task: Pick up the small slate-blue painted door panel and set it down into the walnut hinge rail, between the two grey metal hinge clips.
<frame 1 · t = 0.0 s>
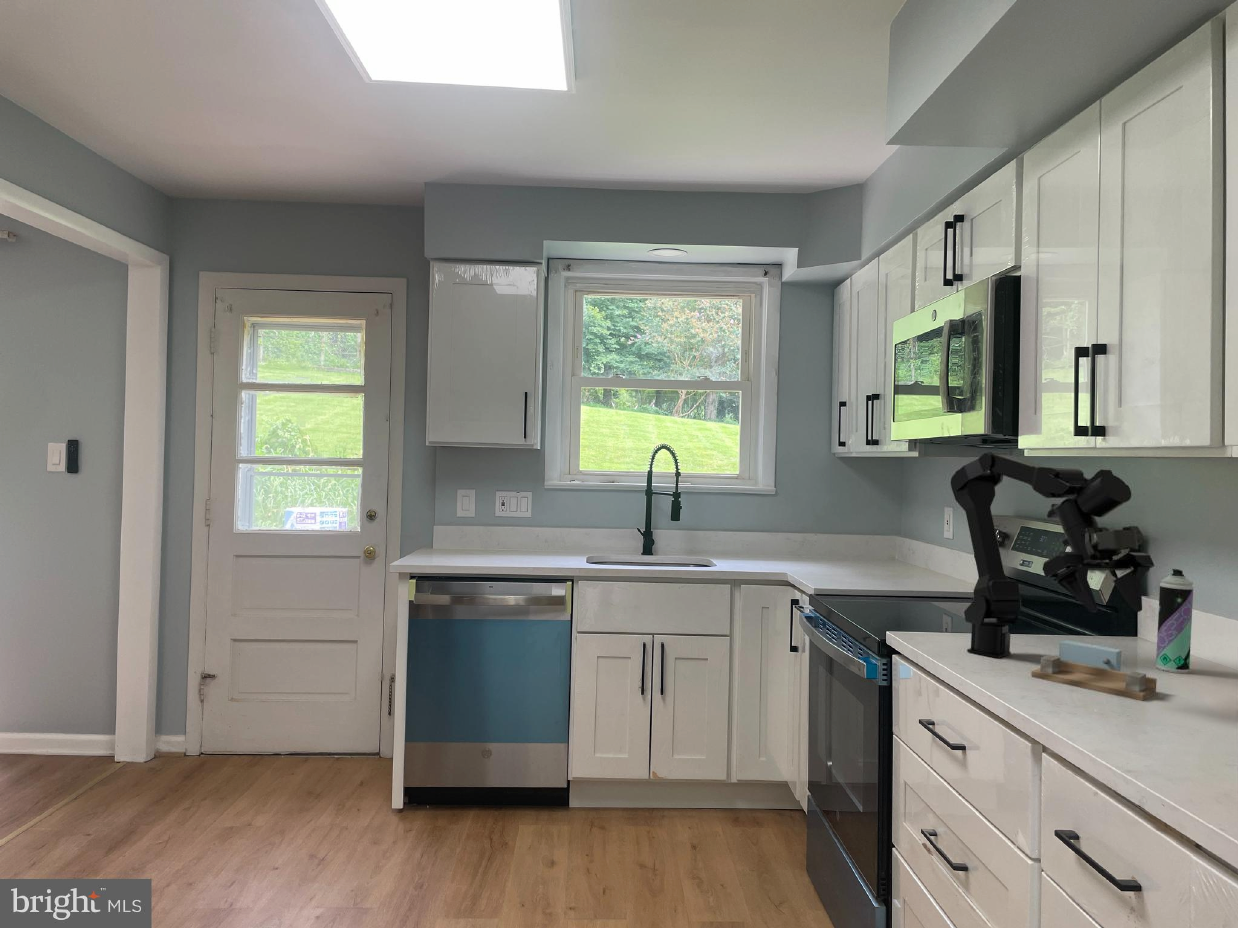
hand: (1117, 611, 139), 15 cm above the worktop, tool tilted 35°, fingers open, 9 cm apart
spray can: (1172, 670, 162), on the worktop
door panel: (1088, 671, 159), on the worktop
hinge rail: (1091, 684, 148), on the worktop
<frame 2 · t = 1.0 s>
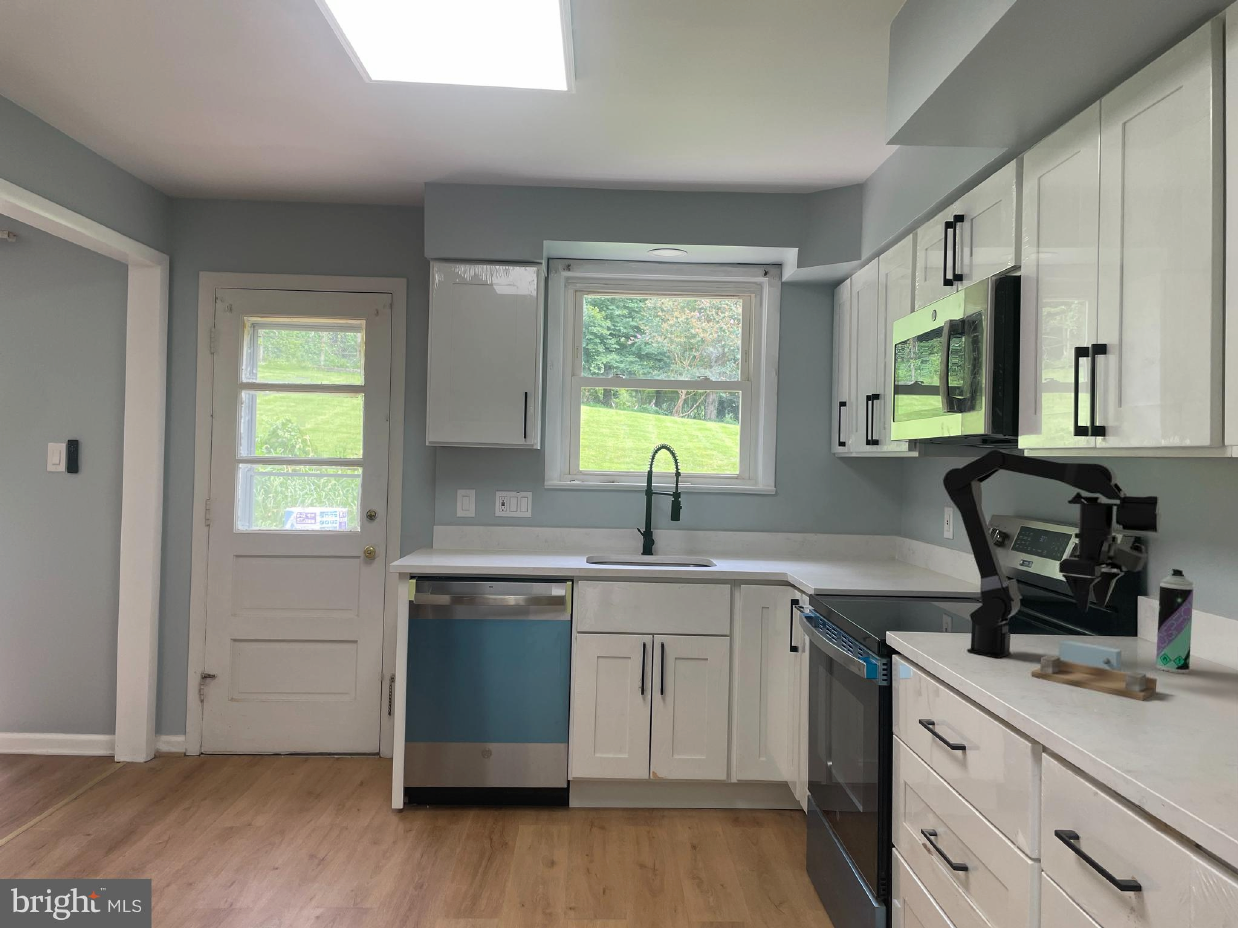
hand: (1092, 609, 158), 12 cm above the worktop, tool pointing down, fingers open, 9 cm apart
nothing on the worktop moved.
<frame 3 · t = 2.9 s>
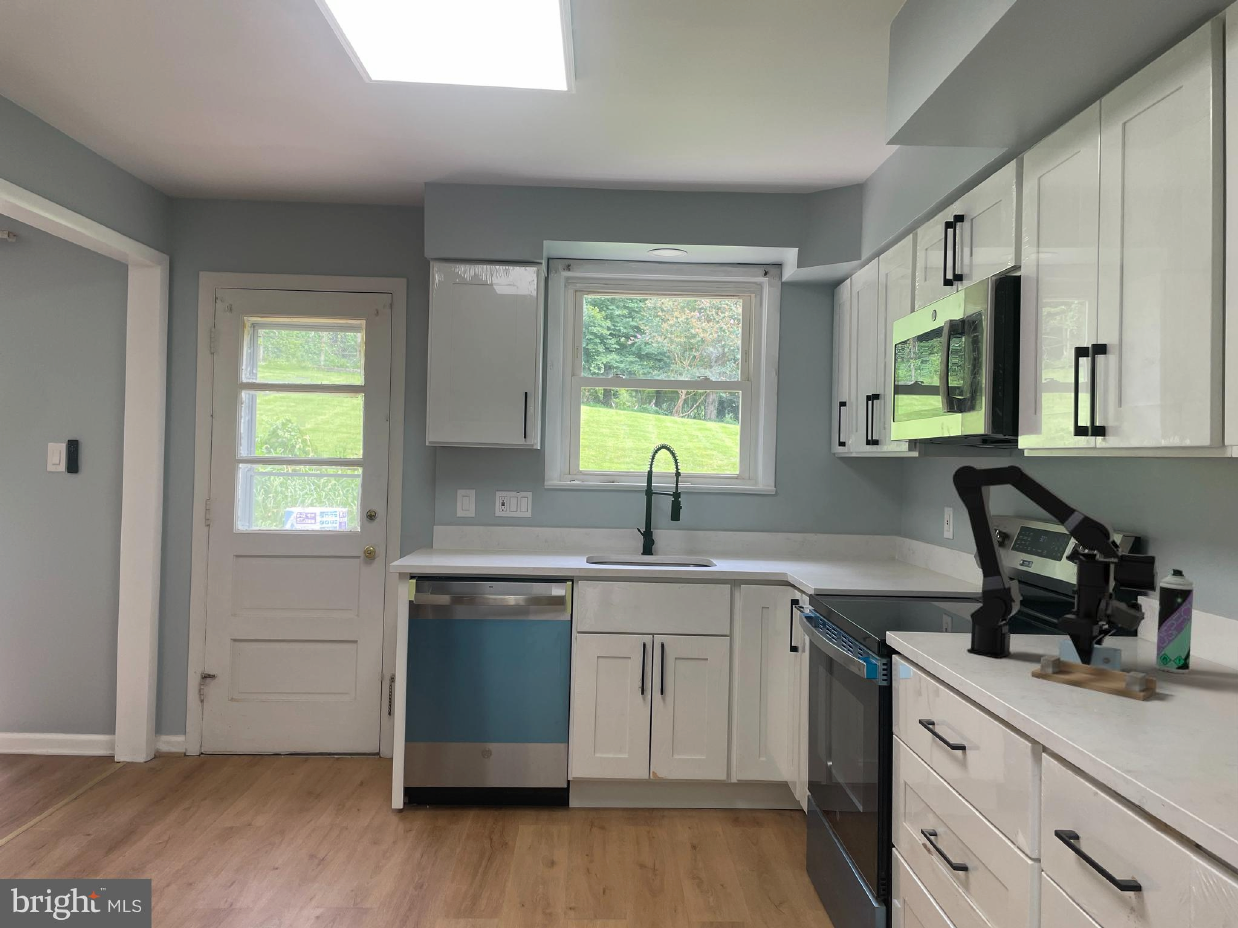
hand: (1089, 665, 158), 1 cm above the worktop, tool pointing down, fingers closed on door panel, 3 cm apart
door panel: (1088, 670, 159), on the worktop, touching gripper
everything else where it was.
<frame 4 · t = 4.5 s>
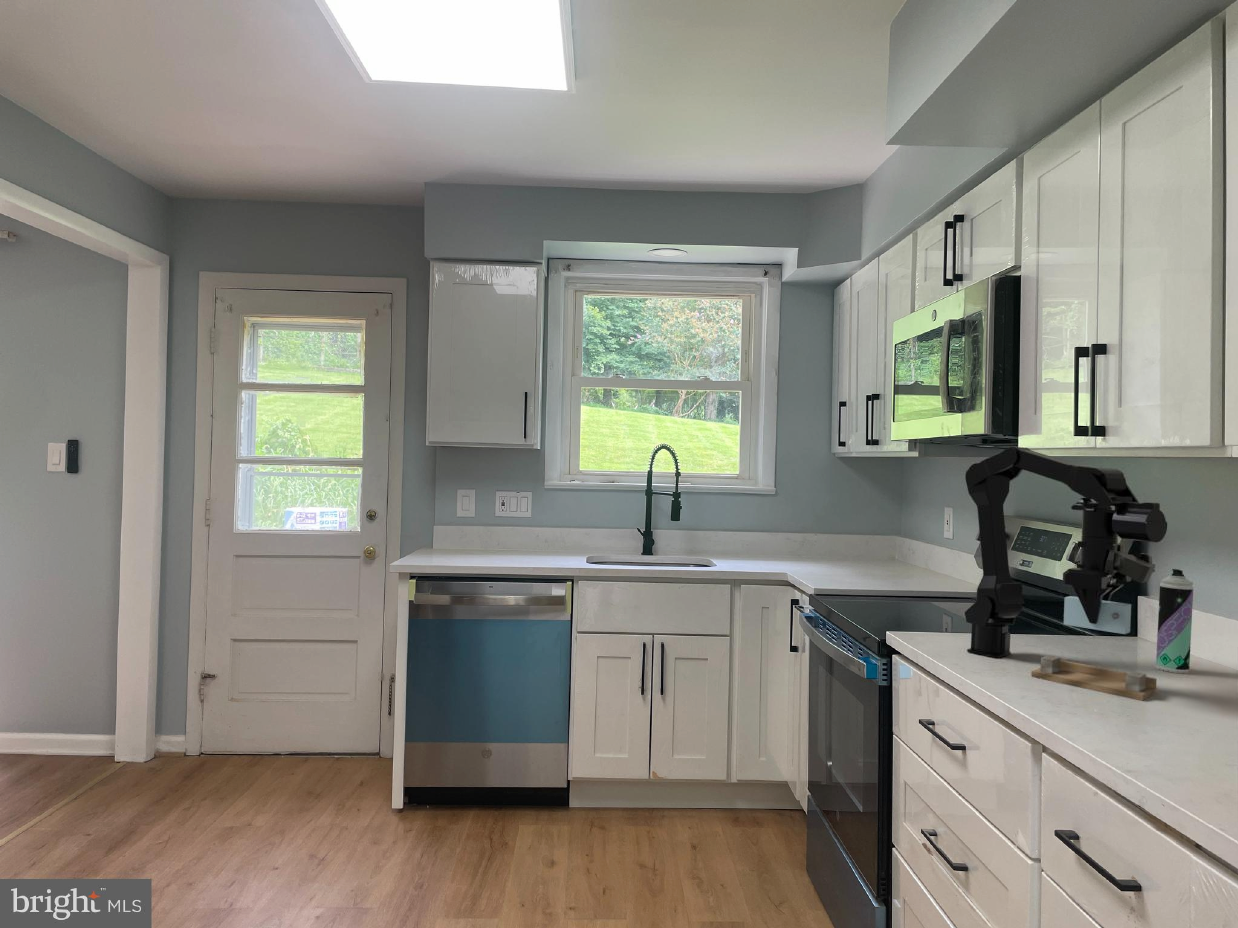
hand: (1096, 622, 149), 11 cm above the worktop, tool pointing down, fingers closed on door panel, 3 cm apart
door panel: (1096, 628, 149), point 10 cm above the worktop, touching gripper
everything else where it was.
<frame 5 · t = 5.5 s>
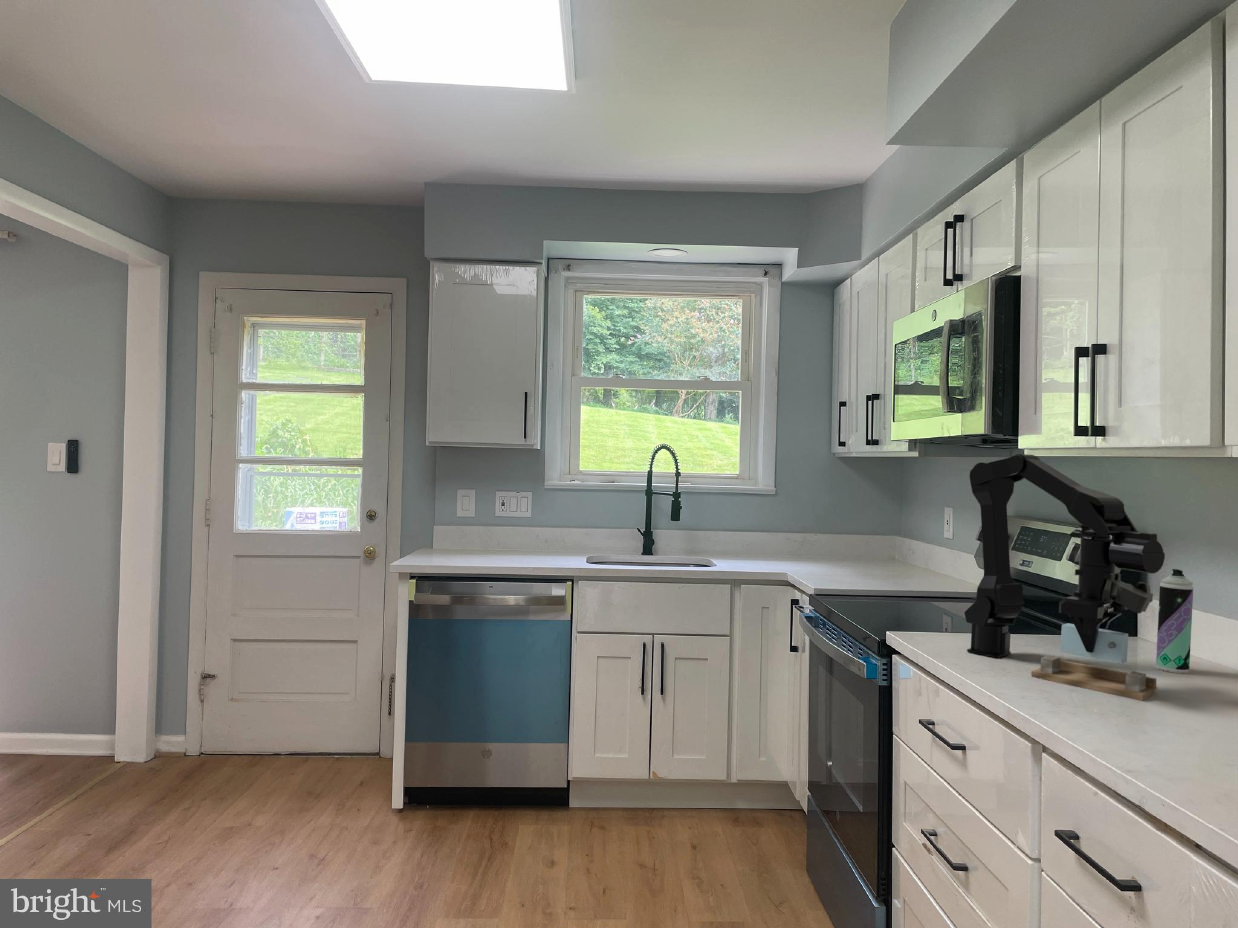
hand: (1092, 650, 148), 6 cm above the worktop, tool pointing down, fingers closed on door panel, 3 cm apart
door panel: (1093, 656, 148), point 5 cm above the worktop, touching gripper
everything else where it was.
when the fingers open (3 cm above the worktop, at t = 6.3 s): door panel stays where it is, resting on hinge rail.
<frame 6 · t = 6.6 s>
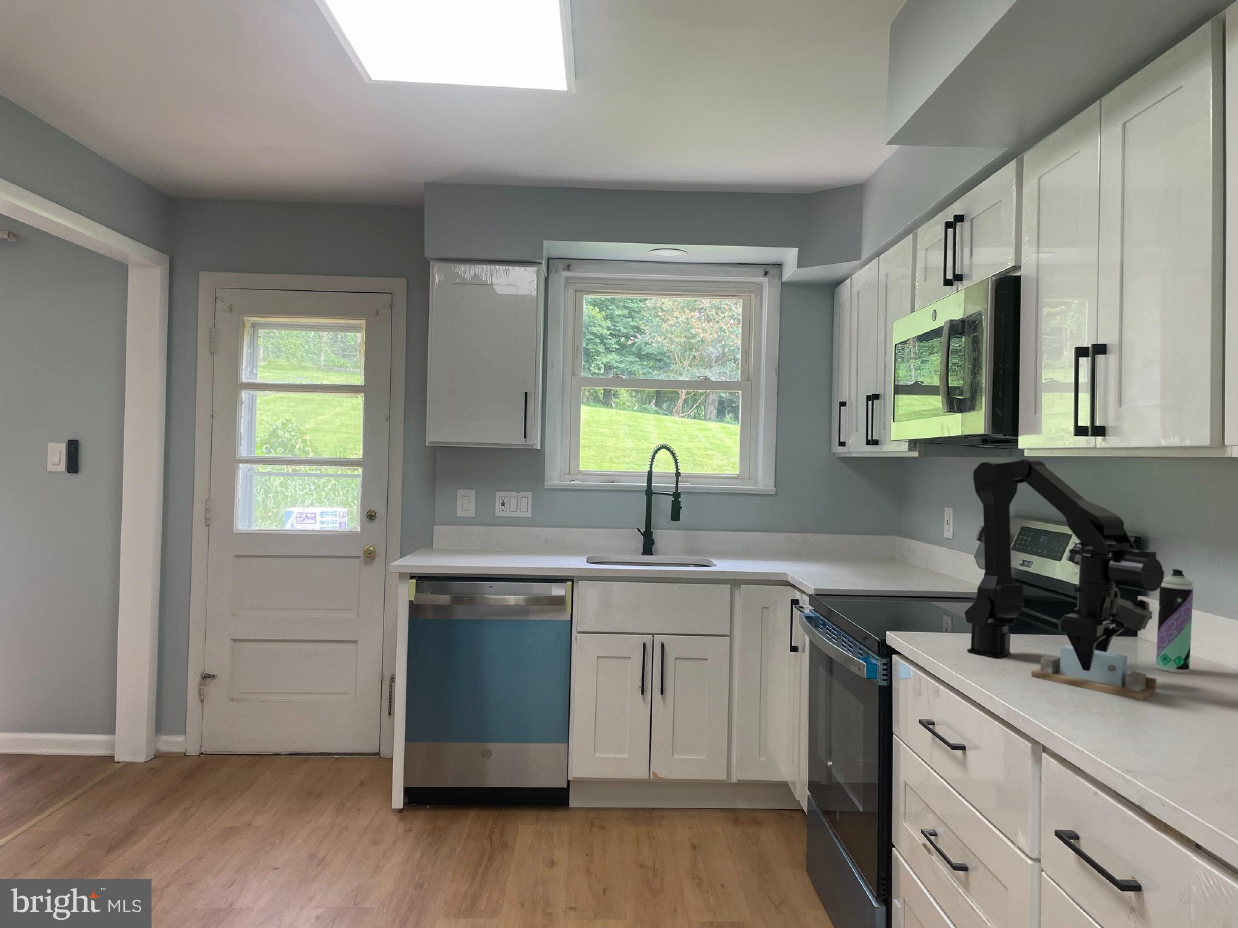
hand: (1092, 667, 148), 3 cm above the worktop, tool pointing down, fingers open, 6 cm apart
door panel: (1092, 678, 148), point 1 cm above the worktop, touching hinge rail
everything else where it was.
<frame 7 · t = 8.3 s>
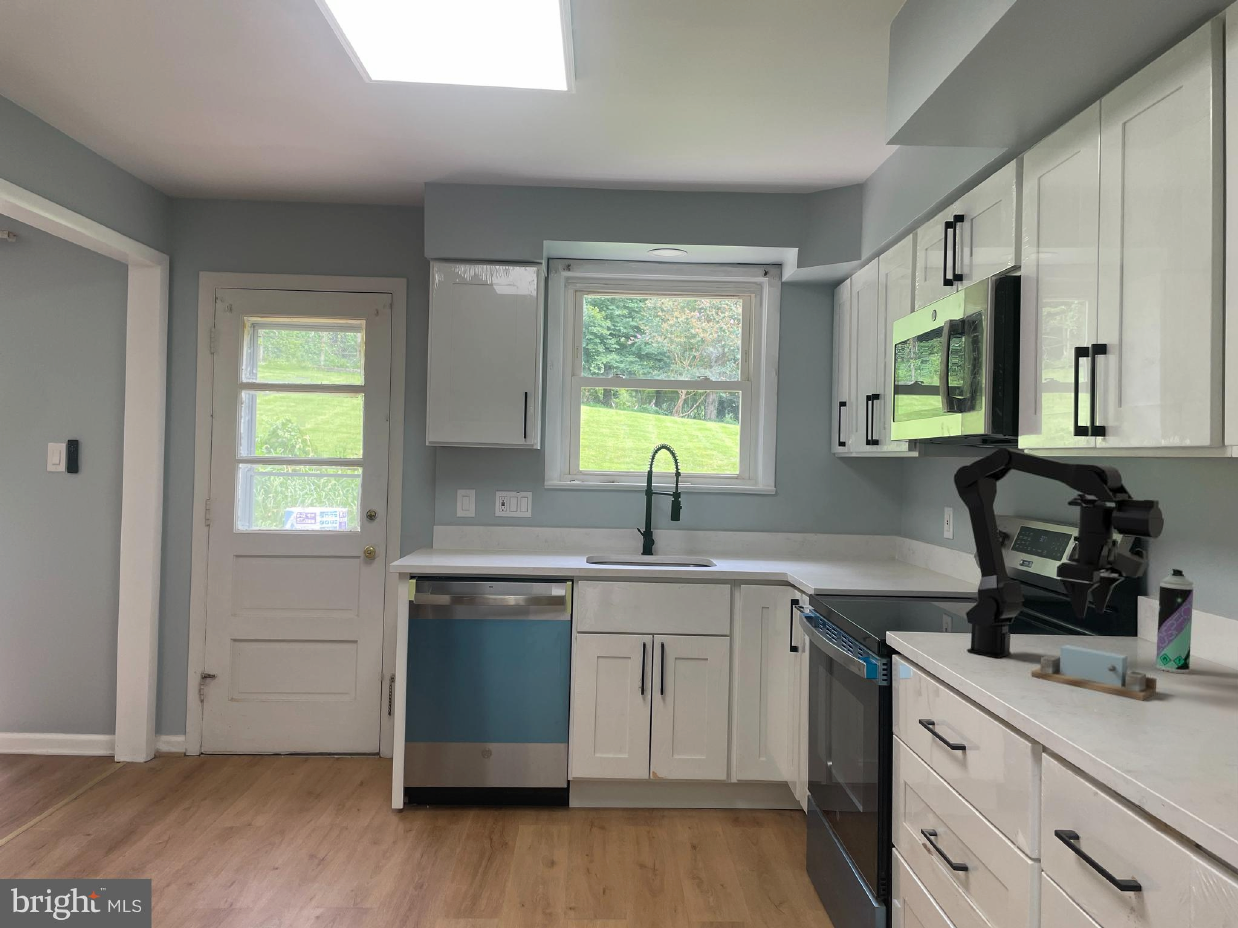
hand: (1090, 615, 153), 12 cm above the worktop, tool pointing down, fingers open, 9 cm apart
nothing on the worktop moved.
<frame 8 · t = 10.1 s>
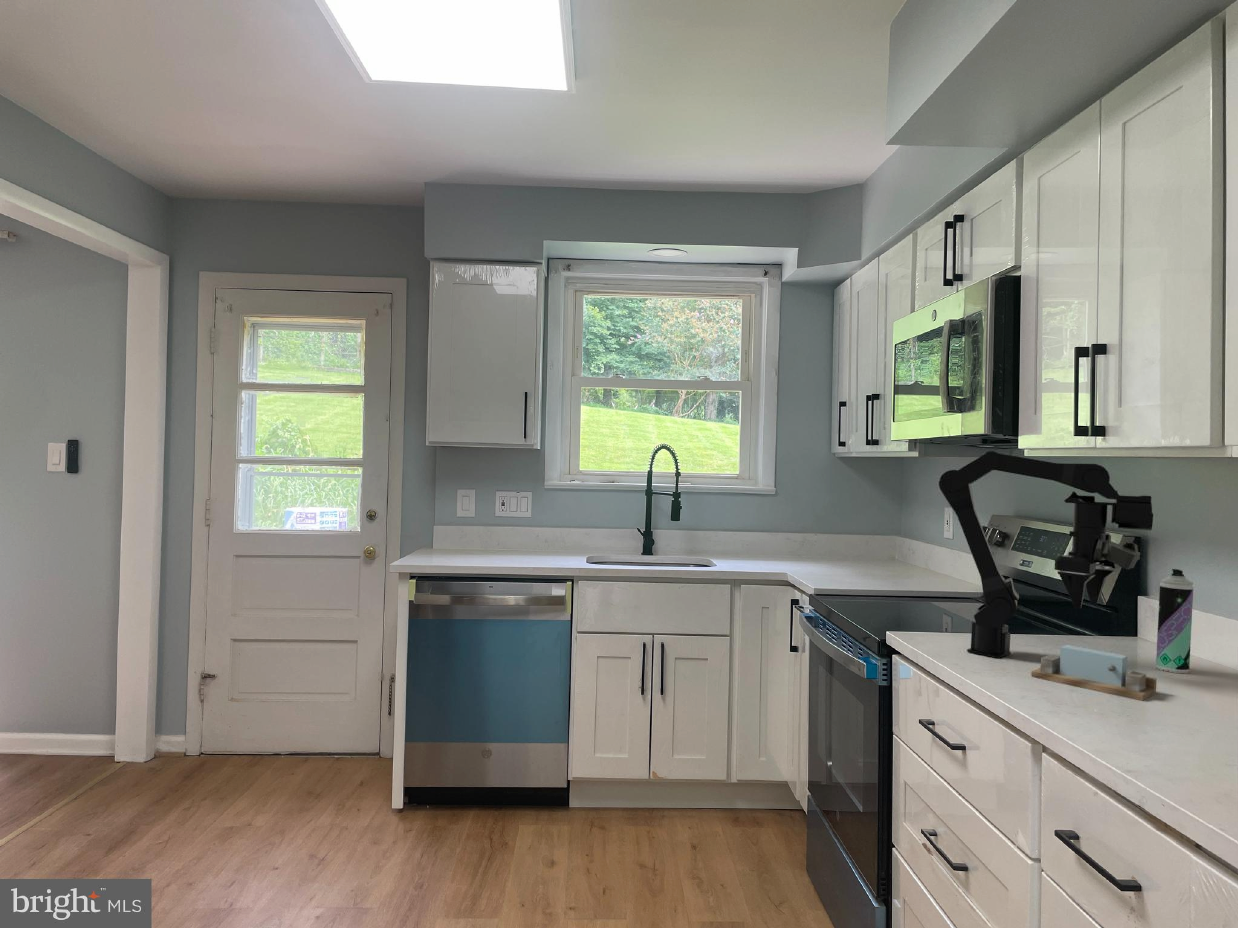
hand: (1086, 605, 162), 12 cm above the worktop, tool pointing down, fingers open, 9 cm apart
nothing on the worktop moved.
at the end: door panel 0.2 cm off-centre on the hinge rail, point 1.0 cm above the hinge rail's base; door panel tilted 0°; the gripper is holding nothing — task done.
